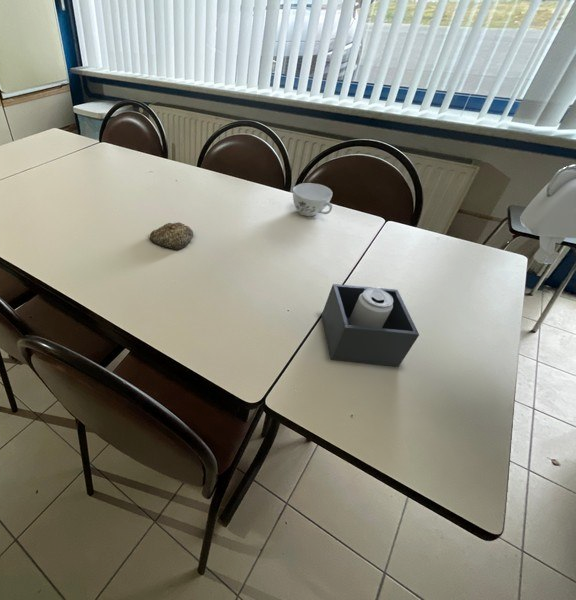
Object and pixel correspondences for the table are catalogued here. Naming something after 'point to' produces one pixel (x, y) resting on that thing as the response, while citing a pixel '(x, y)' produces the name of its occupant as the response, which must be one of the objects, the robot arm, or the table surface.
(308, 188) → the teacup
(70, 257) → the table surface
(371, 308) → the beverage can
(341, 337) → the waste bin
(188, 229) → the speckled grey pebble
